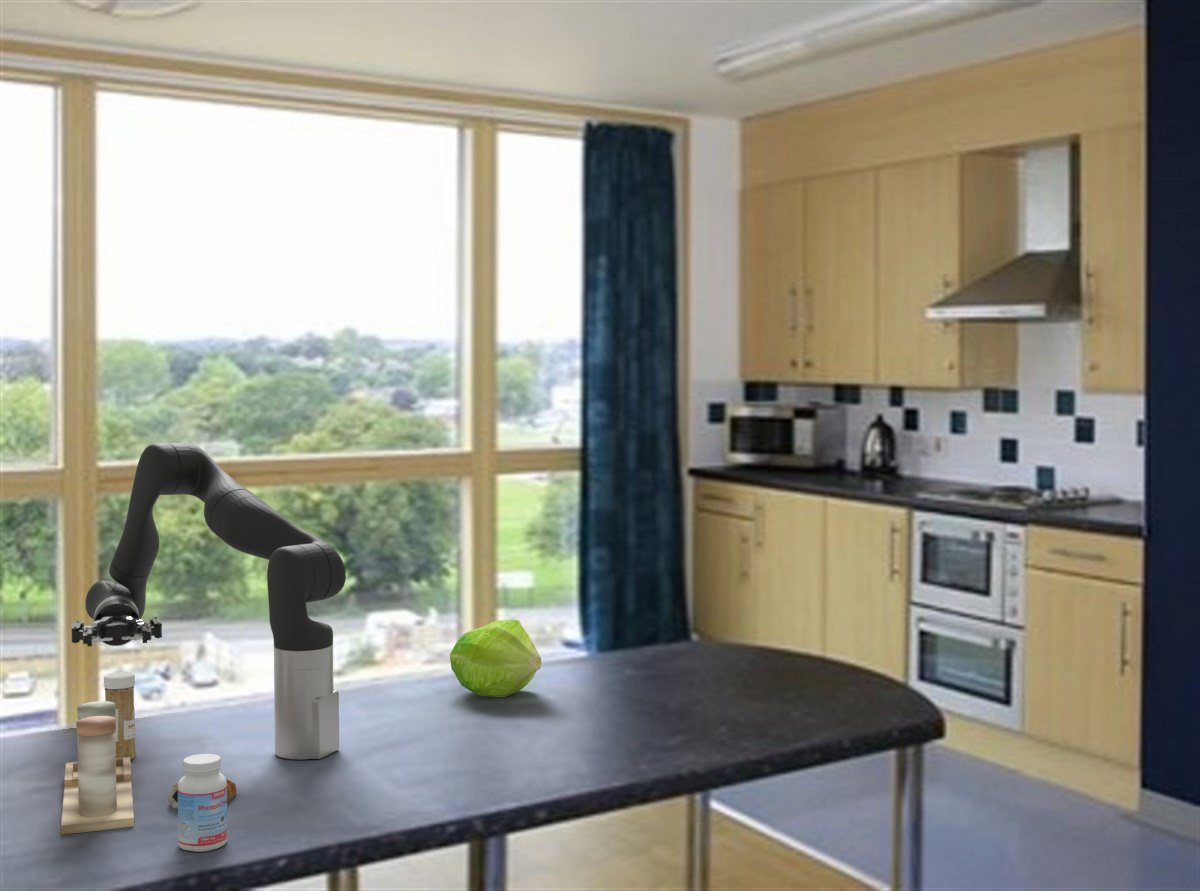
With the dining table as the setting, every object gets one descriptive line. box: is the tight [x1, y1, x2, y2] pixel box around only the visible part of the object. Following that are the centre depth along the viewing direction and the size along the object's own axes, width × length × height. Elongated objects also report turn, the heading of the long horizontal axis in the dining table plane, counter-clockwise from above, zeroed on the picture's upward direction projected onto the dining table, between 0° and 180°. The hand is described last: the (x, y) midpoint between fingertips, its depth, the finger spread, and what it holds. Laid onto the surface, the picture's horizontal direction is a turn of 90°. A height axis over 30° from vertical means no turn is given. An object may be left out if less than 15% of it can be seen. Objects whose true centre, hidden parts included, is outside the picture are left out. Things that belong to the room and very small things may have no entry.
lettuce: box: [449, 618, 542, 698], centre depth 248 cm, size 15×20×14 cm
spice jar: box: [103, 671, 137, 761], centre depth 207 cm, size 5×5×13 cm
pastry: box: [167, 778, 237, 810], centre depth 187 cm, size 9×7×4 cm
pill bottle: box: [177, 753, 228, 853], centre depth 170 cm, size 6×6×11 cm
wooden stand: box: [60, 700, 135, 835], centre depth 187 cm, size 26×9×14 cm, turn 21°
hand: (117, 638), depth 217 cm, fingers open, 8 cm apart
